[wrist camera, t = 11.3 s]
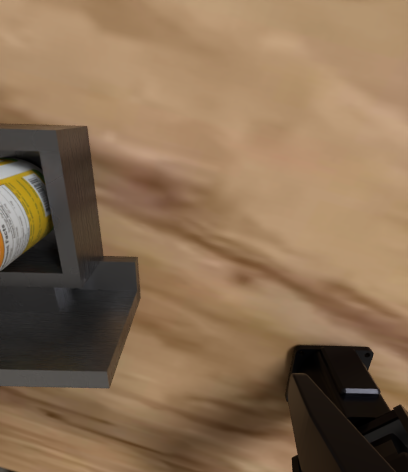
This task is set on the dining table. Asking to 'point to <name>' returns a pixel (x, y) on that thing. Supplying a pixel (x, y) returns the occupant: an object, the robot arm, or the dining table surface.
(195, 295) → the dining table surface
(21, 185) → the supplement bottle
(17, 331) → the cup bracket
